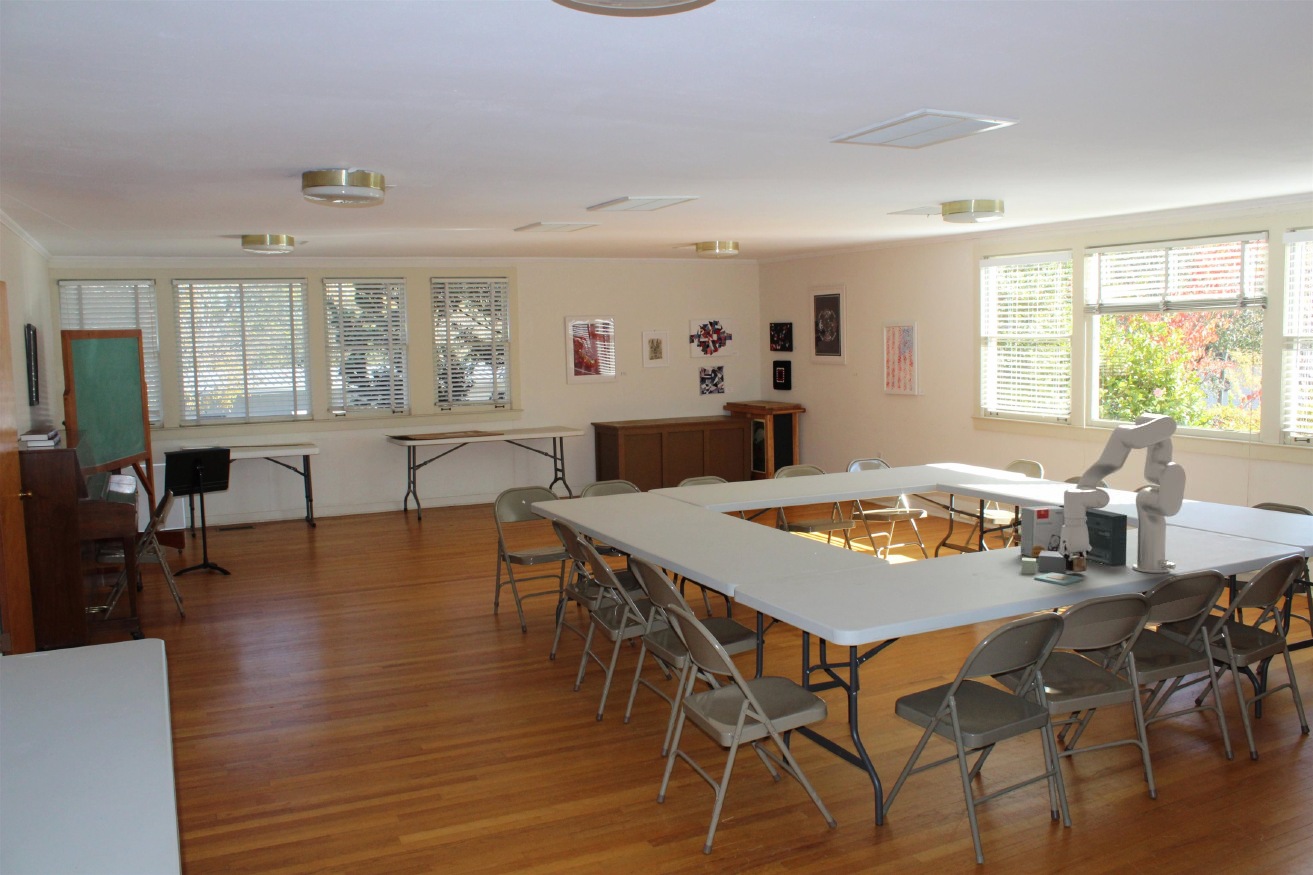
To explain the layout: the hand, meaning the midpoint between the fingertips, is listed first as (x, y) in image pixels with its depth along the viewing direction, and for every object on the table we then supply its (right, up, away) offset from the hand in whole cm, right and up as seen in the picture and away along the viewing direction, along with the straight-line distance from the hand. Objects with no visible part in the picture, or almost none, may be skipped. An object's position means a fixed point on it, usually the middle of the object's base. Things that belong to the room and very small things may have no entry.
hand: (1075, 568), depth 352 cm
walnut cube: (0, -1, 0) cm, 1 cm away
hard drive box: (+2, +1, +35) cm, 35 cm away
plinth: (-4, -2, +10) cm, 11 cm away
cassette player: (+18, 0, +25) cm, 31 cm away
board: (-10, -3, -8) cm, 13 cm away
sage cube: (-16, -2, +5) cm, 17 cm away
